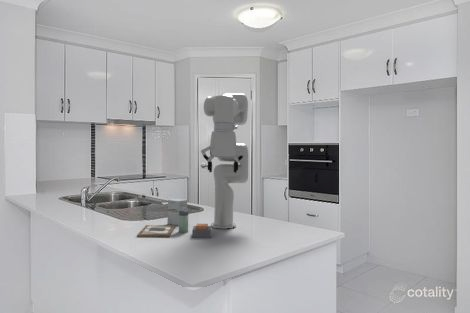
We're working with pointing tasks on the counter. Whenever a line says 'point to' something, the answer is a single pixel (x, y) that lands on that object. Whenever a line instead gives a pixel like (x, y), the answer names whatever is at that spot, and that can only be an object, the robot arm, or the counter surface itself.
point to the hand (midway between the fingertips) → (222, 172)
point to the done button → (202, 226)
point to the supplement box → (175, 210)
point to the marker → (183, 221)
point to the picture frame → (156, 231)
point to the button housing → (201, 232)
